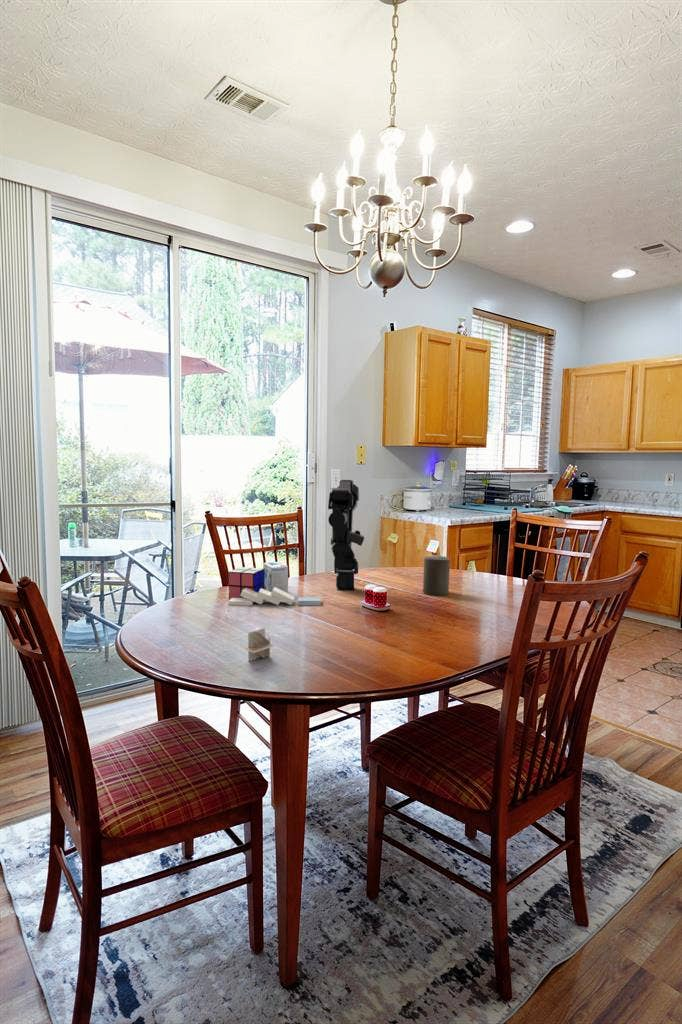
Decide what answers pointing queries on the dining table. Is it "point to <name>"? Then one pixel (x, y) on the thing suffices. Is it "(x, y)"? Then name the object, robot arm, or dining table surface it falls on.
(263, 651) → the architectural model
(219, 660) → the dining table surface
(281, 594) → the domino
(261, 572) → the puzzle cube
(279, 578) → the light bulb box
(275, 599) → the domino
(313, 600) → the domino
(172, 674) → the dining table surface
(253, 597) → the domino
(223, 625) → the dining table surface
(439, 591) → the dark grey cylinder
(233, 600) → the domino
